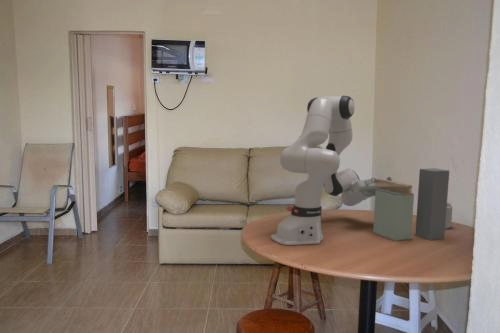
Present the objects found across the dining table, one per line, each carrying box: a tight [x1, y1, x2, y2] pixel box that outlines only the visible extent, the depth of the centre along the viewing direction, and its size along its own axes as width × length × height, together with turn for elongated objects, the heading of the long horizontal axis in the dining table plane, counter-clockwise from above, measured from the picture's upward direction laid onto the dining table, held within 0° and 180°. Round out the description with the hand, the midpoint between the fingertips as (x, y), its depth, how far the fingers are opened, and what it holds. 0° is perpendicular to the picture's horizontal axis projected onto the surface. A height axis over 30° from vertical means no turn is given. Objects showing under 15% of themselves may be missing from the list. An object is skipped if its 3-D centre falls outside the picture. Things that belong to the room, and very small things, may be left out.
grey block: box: [372, 189, 415, 242], centre depth 197 cm, size 9×14×20 cm, turn 25°
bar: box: [375, 178, 413, 195], centre depth 196 cm, size 2×20×4 cm, turn 25°
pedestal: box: [415, 167, 450, 241], centre depth 195 cm, size 9×8×30 cm
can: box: [445, 202, 453, 230], centre depth 213 cm, size 8×8×12 cm
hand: (382, 178), depth 202 cm, fingers open, 8 cm apart
